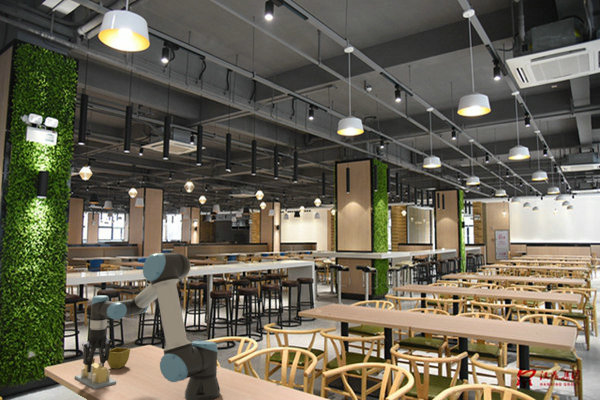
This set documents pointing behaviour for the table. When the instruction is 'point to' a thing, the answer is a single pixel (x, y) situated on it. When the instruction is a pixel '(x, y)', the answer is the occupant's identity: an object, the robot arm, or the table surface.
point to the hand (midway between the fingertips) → (94, 377)
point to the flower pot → (118, 357)
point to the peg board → (96, 385)
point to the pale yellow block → (97, 372)
